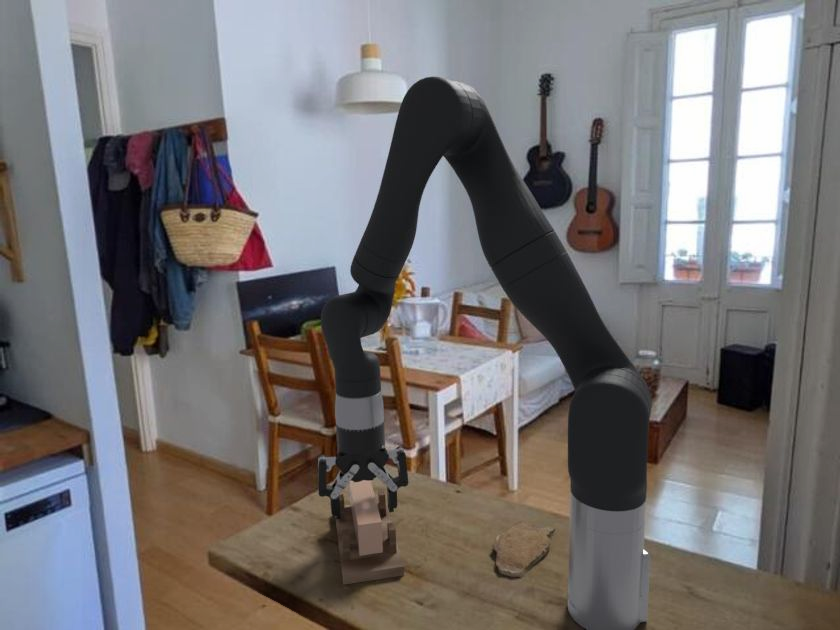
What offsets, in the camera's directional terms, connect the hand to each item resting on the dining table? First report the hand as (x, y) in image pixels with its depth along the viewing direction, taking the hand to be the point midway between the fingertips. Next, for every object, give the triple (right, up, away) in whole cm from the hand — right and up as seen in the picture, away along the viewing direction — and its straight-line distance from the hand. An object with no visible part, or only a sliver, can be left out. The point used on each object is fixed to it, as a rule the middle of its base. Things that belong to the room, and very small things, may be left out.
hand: (364, 513), depth 94 cm
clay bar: (0, -2, 0) cm, 2 cm away
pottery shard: (+25, -6, -2) cm, 26 cm away
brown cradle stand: (0, -5, +1) cm, 5 cm away
